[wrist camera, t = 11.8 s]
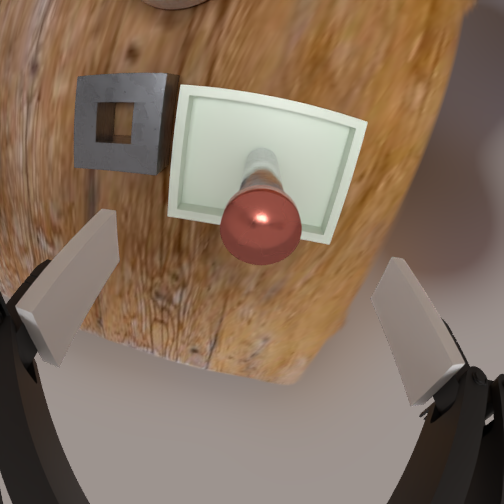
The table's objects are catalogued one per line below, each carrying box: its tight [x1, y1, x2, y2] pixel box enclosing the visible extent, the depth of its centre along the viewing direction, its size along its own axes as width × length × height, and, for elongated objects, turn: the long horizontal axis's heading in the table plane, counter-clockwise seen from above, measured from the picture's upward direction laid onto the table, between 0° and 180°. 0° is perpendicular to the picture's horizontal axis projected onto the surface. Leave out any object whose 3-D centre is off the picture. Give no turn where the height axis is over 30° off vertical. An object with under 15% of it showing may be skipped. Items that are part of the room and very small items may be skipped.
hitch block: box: [74, 73, 179, 175], centre depth 24 cm, size 10×10×4 cm
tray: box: [168, 85, 368, 245], centre depth 28 cm, size 18×14×2 cm
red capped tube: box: [220, 147, 302, 265], centre depth 22 cm, size 4×4×15 cm
